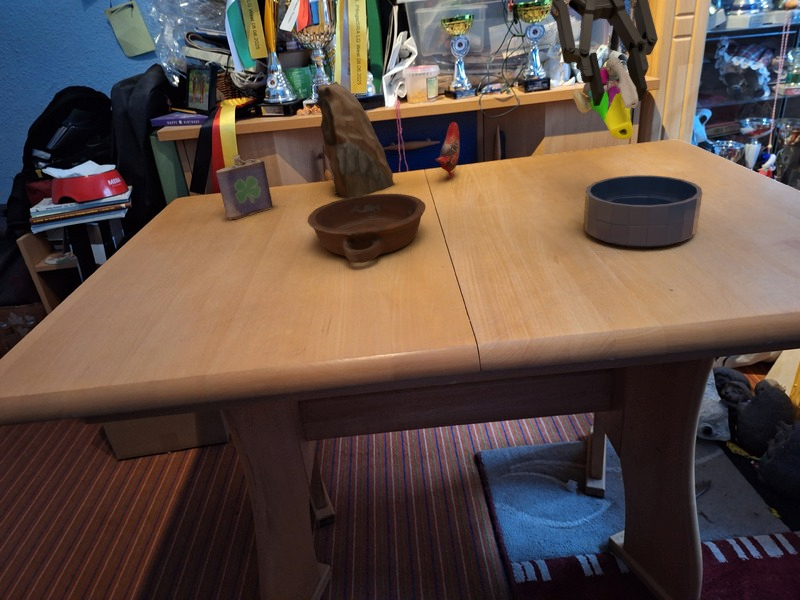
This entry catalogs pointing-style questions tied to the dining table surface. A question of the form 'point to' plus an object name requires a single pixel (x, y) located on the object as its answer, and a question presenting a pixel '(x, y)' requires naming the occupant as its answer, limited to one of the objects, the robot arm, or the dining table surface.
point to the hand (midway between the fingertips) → (620, 96)
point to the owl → (351, 144)
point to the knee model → (612, 99)
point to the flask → (244, 188)
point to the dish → (367, 224)
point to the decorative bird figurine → (450, 149)
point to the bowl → (642, 210)
